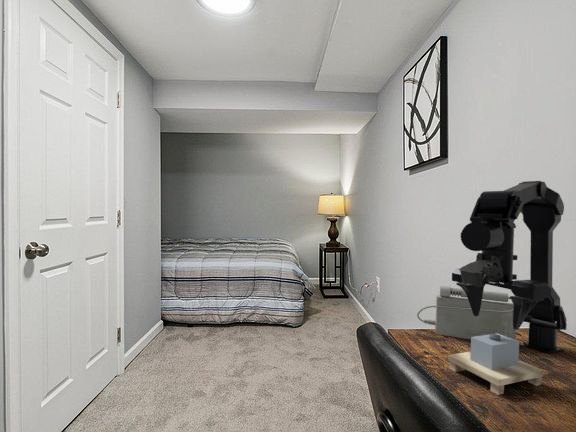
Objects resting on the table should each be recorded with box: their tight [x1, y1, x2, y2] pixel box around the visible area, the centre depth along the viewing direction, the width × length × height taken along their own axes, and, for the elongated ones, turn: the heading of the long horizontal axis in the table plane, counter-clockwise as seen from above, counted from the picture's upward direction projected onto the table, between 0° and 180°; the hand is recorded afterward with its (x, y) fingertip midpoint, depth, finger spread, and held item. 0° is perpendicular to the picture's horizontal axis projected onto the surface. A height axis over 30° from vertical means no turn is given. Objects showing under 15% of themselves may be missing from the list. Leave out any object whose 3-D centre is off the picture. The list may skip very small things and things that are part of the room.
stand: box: [447, 350, 544, 396], centre depth 73 cm, size 13×12×3 cm
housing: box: [470, 333, 520, 370], centre depth 73 cm, size 8×5×6 cm, turn 111°
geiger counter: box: [416, 285, 517, 340], centre depth 96 cm, size 14×6×25 cm
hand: (494, 322), depth 73 cm, fingers open, 9 cm apart
